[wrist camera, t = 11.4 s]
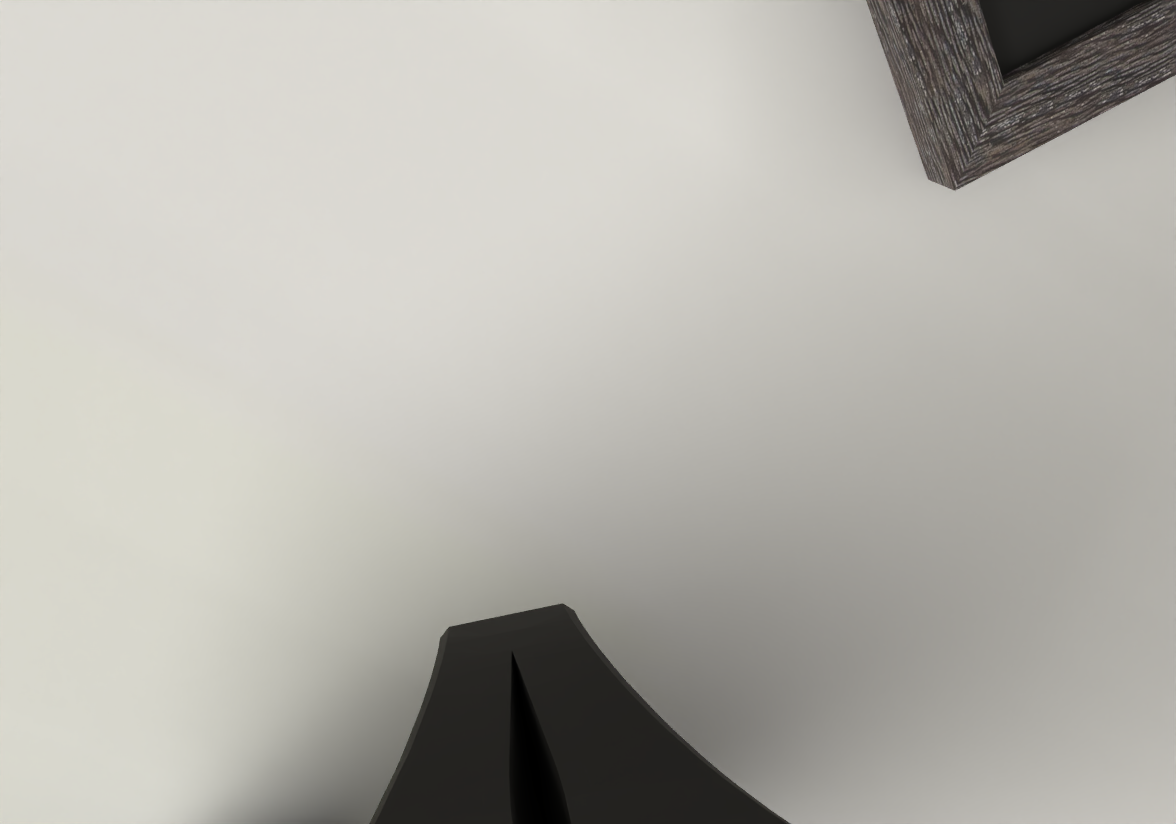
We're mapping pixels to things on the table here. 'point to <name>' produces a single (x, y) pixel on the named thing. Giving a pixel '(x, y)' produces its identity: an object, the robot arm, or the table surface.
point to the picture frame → (1016, 71)
